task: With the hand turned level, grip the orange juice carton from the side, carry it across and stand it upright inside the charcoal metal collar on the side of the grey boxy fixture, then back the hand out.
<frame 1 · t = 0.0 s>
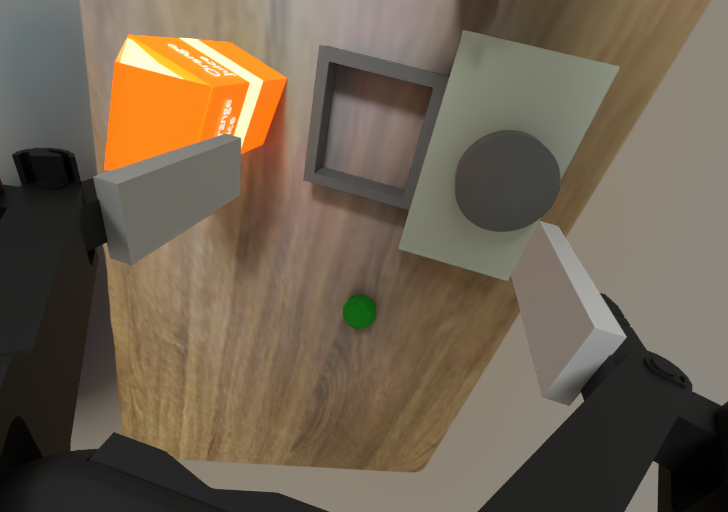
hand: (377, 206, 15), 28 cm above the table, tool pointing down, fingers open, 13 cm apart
orange juice: (248, 96, 43), on the table
grey boxy fixture: (373, 129, 41), on the table
polyhedron: (363, 301, 54), on the table
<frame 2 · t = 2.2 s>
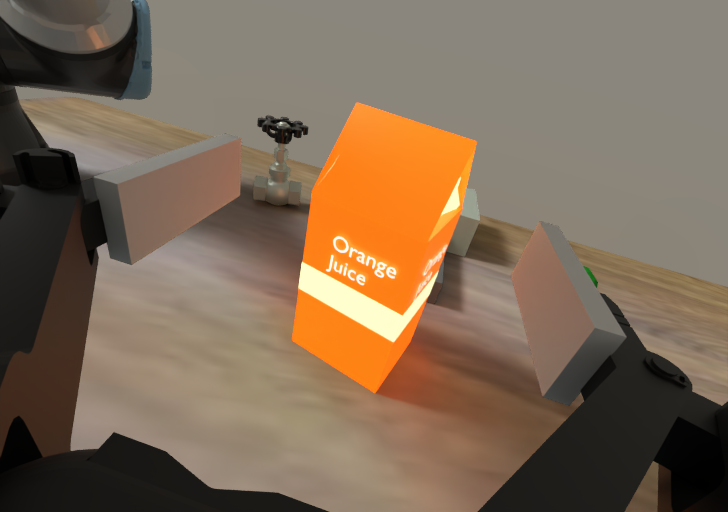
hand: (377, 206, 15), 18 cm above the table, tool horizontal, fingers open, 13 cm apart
valve: (276, 205, 53), on the table
orange juice: (353, 342, 33), on the table
grey boxy fixture: (384, 257, 46), on the table
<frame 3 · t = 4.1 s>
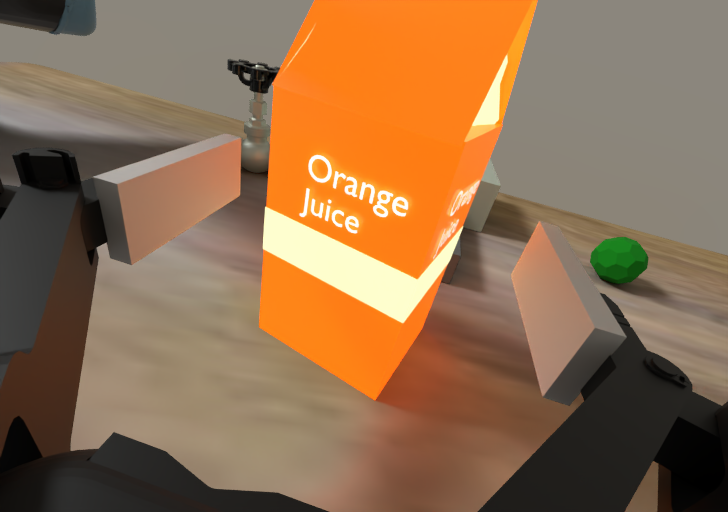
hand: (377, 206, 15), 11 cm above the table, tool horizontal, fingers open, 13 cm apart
valve: (255, 173, 44), on the table
orange juice: (345, 330, 24), on the table
grey boxy fixture: (384, 230, 38), on the table
polyhedron: (604, 279, 39), on the table
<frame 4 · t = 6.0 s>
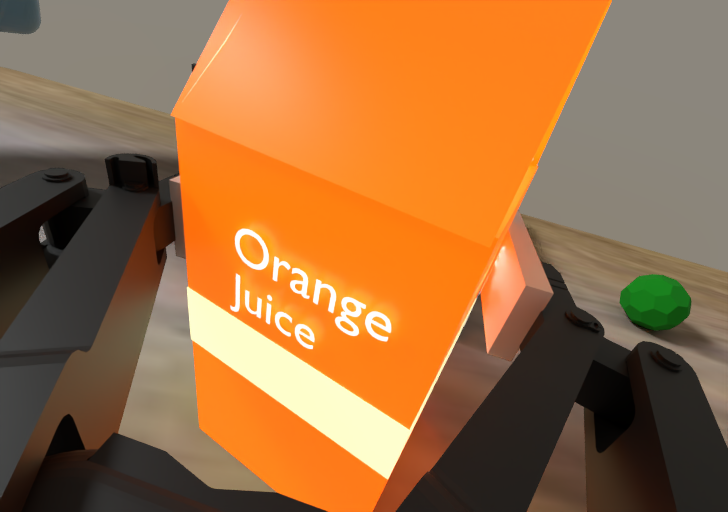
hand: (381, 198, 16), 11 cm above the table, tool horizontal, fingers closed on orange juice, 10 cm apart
orange juice: (318, 423, 18), on the table, touching gripper
polyhedron: (636, 322, 33), on the table
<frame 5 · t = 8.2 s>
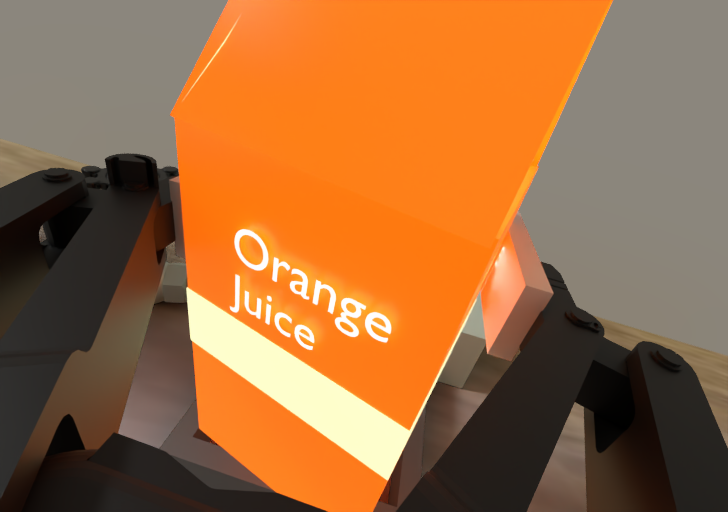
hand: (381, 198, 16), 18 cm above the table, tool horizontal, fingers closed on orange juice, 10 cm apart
valve: (152, 300, 32), on the table
orange juice: (318, 424, 18), point 6 cm above the table, touching gripper
grey boxy fixture: (317, 416, 26), on the table
when the fingers open (12 cm above the table, at t = 10.4 s): orange juice drops 1 cm, resting in grey boxy fixture.
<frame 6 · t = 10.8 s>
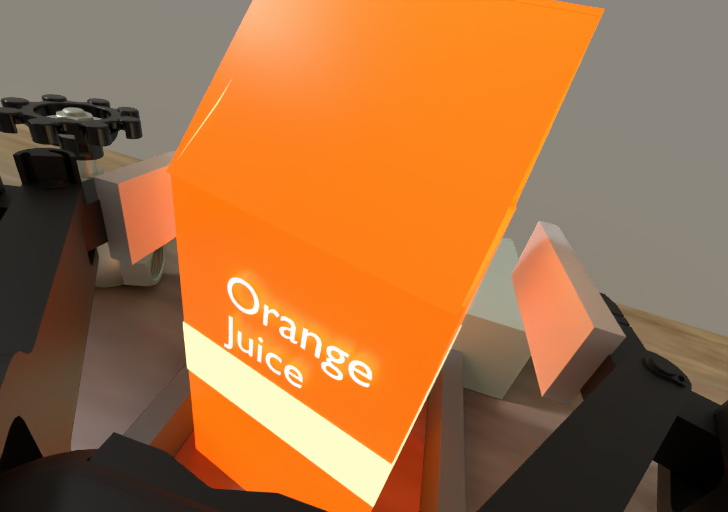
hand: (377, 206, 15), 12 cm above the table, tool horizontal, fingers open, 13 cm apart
valve: (111, 283, 26), on the table
orange juice: (311, 442, 19), resting in grey boxy fixture
grey boxy fixture: (315, 437, 19), on the table
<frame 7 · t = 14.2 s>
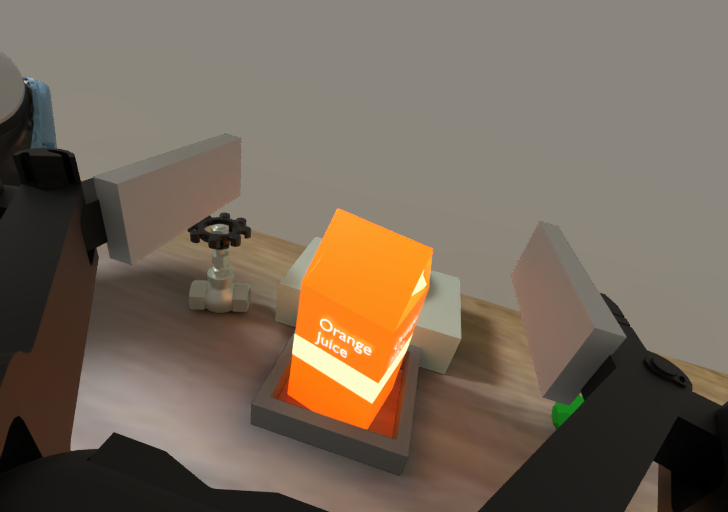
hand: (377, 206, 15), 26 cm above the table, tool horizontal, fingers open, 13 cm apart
valve: (221, 310, 45), on the table
orange juice: (341, 392, 38), resting in grey boxy fixture
grey boxy fixture: (343, 390, 38), on the table
polyhedron: (566, 433, 39), on the table
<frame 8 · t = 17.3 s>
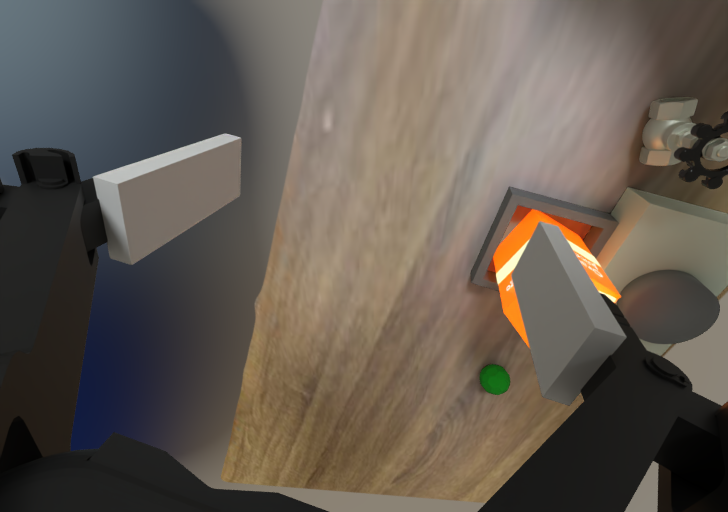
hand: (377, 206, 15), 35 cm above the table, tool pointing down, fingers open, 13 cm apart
valve: (656, 128, 41), on the table
orange juice: (533, 243, 50), resting in grey boxy fixture
grey boxy fixture: (534, 245, 50), on the table
polyhedron: (493, 368, 63), on the table
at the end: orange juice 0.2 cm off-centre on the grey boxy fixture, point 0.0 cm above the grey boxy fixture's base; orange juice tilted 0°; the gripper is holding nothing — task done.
